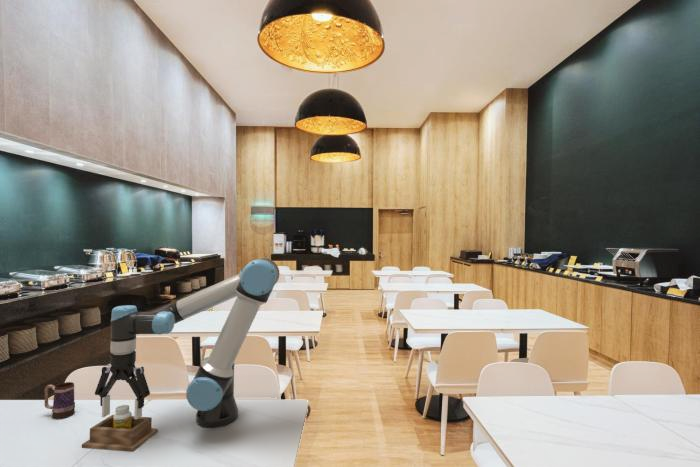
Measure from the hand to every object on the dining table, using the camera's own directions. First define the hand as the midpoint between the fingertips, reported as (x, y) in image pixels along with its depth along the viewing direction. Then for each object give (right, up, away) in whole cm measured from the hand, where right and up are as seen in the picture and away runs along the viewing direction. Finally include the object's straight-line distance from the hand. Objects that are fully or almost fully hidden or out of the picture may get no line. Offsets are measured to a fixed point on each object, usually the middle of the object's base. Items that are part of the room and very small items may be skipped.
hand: (121, 416), depth 129 cm
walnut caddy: (0, -8, 0) cm, 8 cm away
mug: (-34, -8, +17) cm, 39 cm away
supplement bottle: (0, -7, 0) cm, 7 cm away
